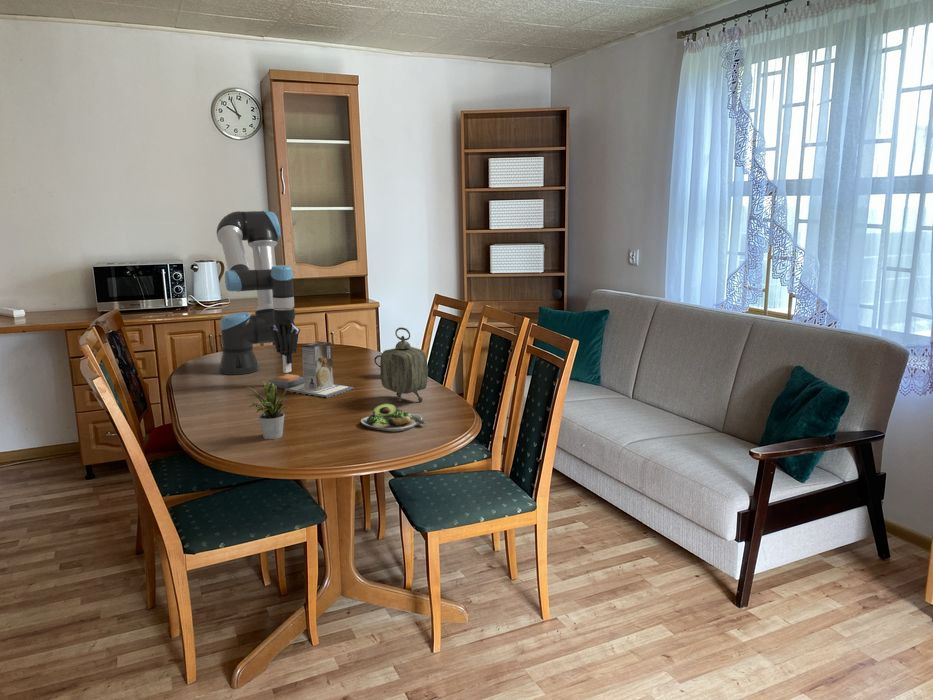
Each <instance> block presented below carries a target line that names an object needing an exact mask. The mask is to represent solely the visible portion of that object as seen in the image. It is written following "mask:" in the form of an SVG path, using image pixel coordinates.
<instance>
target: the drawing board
mask: <svg viewBox="0 0 933 700" xmlns="http://www.w3.org/2000/svg"><path fill="white" fill-rule="evenodd" d="M286 389H287V390H286ZM286 389H284V391H285V390H286V391H289V392H288V393H293V392H296V393H295V394H299V393H302V394H301V395H305V394H308V395H307V396H311V395H314V396H313V397H317V396H321V397H320V398H323V397H326V398H325V399H329V398H332V397H334V396H333V395H335V396H338V395H340V393H341V394H343V392H344V393H347V392H349V390H350V391H352V390H351V389H353V390H354V386H349V385H348V386H347V385H342V384H336V383H334V385H333V386H330V387H328V388H325V389H322V390H319V391H313V390H306V389H304V383H303V384H299V385H296V386H293V387H289V388H286ZM290 389H291V390H290ZM286 391H285V392H286ZM346 391H347V392H346ZM337 394H338V395H337ZM331 396H332V397H331ZM328 397H329V398H328Z"/></svg>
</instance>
